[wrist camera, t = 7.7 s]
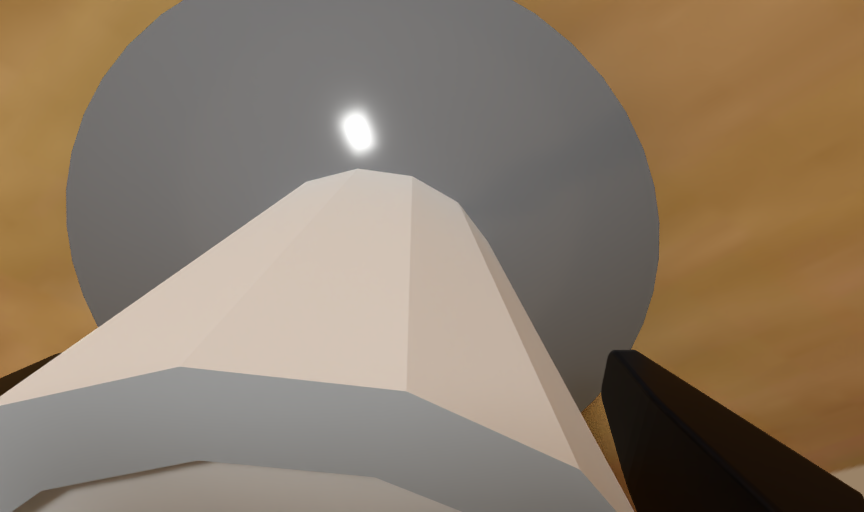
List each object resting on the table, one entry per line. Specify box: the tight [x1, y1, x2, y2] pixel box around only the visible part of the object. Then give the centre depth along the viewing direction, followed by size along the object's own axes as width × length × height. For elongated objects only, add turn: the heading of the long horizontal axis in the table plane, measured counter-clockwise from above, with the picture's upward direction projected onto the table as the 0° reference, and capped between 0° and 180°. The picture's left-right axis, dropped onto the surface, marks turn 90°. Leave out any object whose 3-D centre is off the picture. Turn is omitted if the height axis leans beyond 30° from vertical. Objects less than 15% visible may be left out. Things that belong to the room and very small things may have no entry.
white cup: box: [0, 169, 634, 512], centre depth 7 cm, size 7×7×7 cm
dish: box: [66, 0, 659, 413], centre depth 11 cm, size 13×13×1 cm
